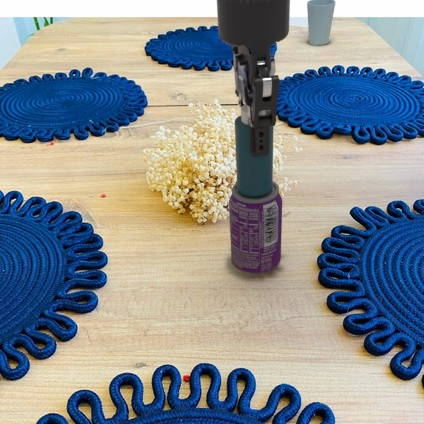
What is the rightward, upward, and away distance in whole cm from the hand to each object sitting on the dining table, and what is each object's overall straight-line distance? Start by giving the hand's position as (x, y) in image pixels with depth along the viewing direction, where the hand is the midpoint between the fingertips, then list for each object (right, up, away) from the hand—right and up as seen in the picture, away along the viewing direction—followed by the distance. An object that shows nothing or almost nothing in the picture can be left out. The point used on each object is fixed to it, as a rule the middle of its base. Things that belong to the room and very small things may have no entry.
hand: (254, 145), depth 65 cm
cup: (+25, +55, +87) cm, 106 cm away
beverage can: (+1, -14, +12) cm, 18 cm away
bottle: (0, -4, +4) cm, 6 cm away
